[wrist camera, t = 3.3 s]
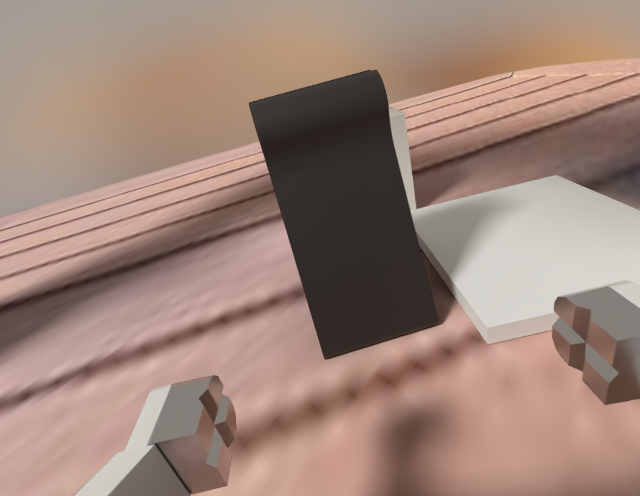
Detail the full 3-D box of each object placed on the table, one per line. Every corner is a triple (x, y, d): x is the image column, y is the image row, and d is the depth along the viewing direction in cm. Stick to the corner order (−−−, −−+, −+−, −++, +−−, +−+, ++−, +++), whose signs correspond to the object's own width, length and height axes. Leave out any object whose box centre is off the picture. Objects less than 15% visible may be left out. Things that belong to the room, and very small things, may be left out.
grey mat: (487, 344, 17) (487, 327, 16) (404, 223, 29) (402, 212, 29) (758, 283, 16) (766, 264, 16) (555, 187, 29) (555, 174, 28)
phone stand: (439, 328, 18) (411, 68, 13) (324, 362, 18) (246, 112, 13) (383, 250, 26) (351, 70, 21) (303, 273, 26) (249, 97, 21)
